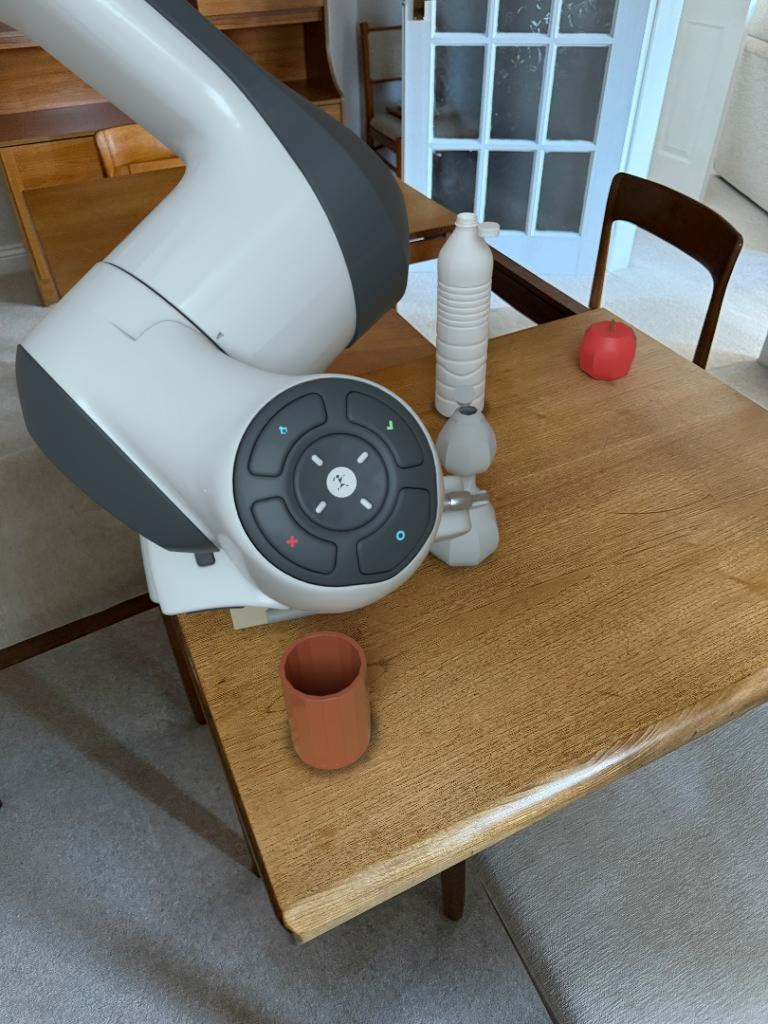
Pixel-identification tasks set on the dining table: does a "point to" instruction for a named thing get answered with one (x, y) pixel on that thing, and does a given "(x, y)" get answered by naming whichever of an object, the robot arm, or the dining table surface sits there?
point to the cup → (326, 699)
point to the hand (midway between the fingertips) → (304, 544)
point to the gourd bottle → (468, 478)
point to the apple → (607, 350)
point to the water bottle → (463, 311)
